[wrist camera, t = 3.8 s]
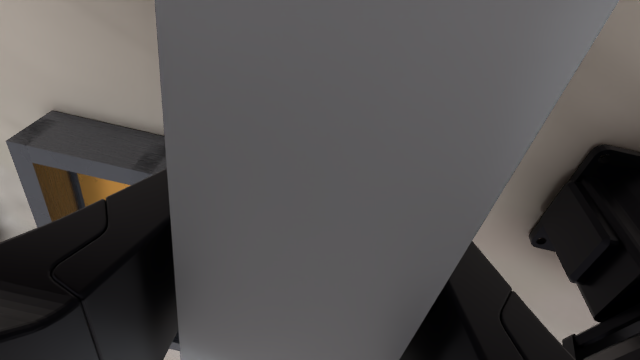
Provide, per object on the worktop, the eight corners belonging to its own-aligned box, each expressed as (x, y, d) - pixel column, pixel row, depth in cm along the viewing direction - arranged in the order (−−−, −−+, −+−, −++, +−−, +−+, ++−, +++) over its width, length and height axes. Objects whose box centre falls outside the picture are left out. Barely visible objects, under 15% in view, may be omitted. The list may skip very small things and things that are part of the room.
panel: (508, -138, 6) (735, -190, 2) (344, 303, 13) (327, 476, 9) (294, -189, 6) (130, -333, 2) (244, 281, 13) (187, 445, 9)
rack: (288, 164, 21) (272, 210, 18) (261, 327, 31) (247, 375, 28) (52, 110, 21) (-5, 147, 18) (99, 290, 31) (68, 334, 28)
